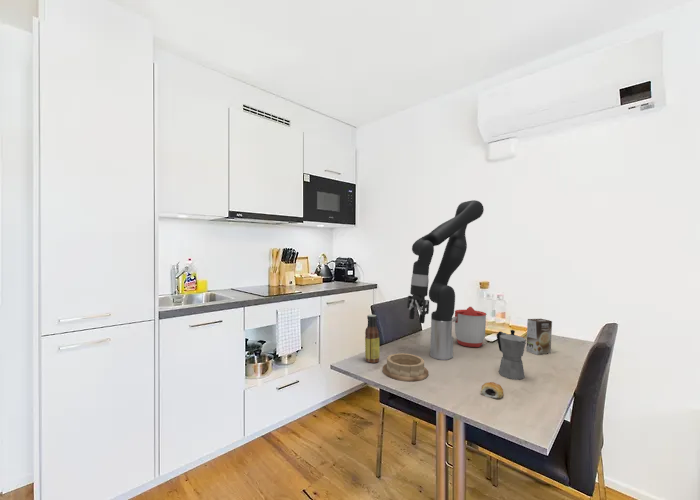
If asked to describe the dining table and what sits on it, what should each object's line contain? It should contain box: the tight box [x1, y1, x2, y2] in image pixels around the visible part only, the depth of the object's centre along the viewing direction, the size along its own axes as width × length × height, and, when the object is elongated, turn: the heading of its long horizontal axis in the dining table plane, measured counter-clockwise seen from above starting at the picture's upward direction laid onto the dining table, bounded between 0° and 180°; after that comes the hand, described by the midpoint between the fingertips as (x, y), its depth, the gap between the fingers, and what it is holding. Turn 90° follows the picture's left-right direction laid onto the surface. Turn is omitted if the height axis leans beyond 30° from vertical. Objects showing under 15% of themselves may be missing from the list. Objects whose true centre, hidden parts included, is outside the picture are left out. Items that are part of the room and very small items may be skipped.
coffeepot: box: [496, 329, 527, 381], centre depth 127 cm, size 15×9×18 cm, turn 13°
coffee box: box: [525, 318, 553, 356], centre depth 156 cm, size 9×6×16 cm
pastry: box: [479, 381, 504, 400], centre depth 110 cm, size 9×7×4 cm
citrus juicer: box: [452, 306, 487, 348], centre depth 167 cm, size 16×17×20 cm
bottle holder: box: [382, 352, 429, 382], centre depth 126 cm, size 18×18×5 cm
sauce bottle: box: [364, 314, 381, 364], centre depth 138 cm, size 6×6×20 cm
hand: (416, 320), depth 141 cm, fingers open, 8 cm apart
